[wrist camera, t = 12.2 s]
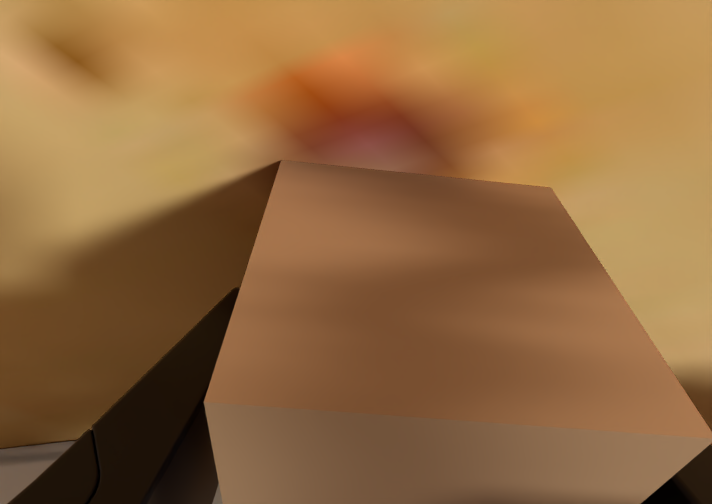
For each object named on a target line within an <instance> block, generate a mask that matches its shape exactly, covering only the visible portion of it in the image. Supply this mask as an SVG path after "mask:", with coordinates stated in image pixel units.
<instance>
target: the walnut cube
mask: <svg viewBox="0 0 712 504" xmlns="http://www.w3.org/2000/svg"><path fill="white" fill-rule="evenodd" d="M204 406H205V411H206V417H207V422H208V428H209V433H210V438H211V444H212V449H213V454H214V460H215V465H216V470H217V476H218V481H219V487H220V492H221V497H222V503H223V504H641V503H642V502H643V501H644V500H645V499H647V498H648V497H649V496H650V495H651V494H653V493H654V492H655V491H656V490H657V489H658V488H660V487H661V486H662V485H663V484H664V483H665V482H667V481H668V480H669V479H670V478H671V477H672V476H674V475H675V474H676V473H677V472H678V471H679V470H681V469H682V468H683V467H684V466H685V465H686V464H688V463H689V462H690V461H691V460H692V459H693V458H695V457H696V456H697V455H698V454H699V453H701V452H702V451H703V450H704V449H705V448H706V447H708V446H709V445H710V444H711V443H712V431H711V430H710V428H709V427H708V425H707V424H706V422H705V421H704V419H703V418H702V416H701V415H700V413H699V412H698V410H697V409H696V407H695V406H694V404H693V402H692V401H691V399H690V398H689V396H688V395H687V393H686V392H685V390H684V389H683V387H682V386H681V384H680V383H679V381H678V380H677V378H676V377H675V375H674V374H673V372H672V371H671V369H670V368H669V366H668V365H667V363H666V361H665V360H664V358H663V357H662V355H661V354H660V352H659V351H658V349H657V348H656V346H655V345H654V343H653V342H652V340H651V339H650V337H649V336H648V334H647V333H646V331H645V330H644V328H643V327H642V325H641V324H640V322H639V320H638V319H637V317H636V316H635V314H634V313H633V311H632V310H631V308H630V307H629V305H628V304H627V302H626V301H625V299H624V298H623V296H622V295H621V293H620V292H619V290H618V289H617V287H616V286H615V284H614V283H613V281H612V280H611V278H610V276H609V275H608V273H607V272H606V270H605V269H604V267H603V266H602V264H601V263H600V261H599V260H598V258H597V257H596V255H595V254H594V252H593V251H592V249H591V248H590V246H589V245H588V243H587V242H586V240H585V239H584V237H583V235H582V234H581V232H580V231H579V229H578V228H577V226H576V225H575V223H574V222H573V220H572V219H571V217H570V216H569V214H568V213H567V211H566V210H565V208H564V207H563V205H562V204H561V202H560V201H559V199H558V198H557V196H556V194H555V193H554V191H553V190H552V188H550V187H540V186H530V185H521V184H511V183H501V182H491V181H481V180H472V179H462V178H452V177H442V176H432V175H423V174H413V173H403V172H393V171H383V170H374V169H364V168H354V167H344V166H334V165H325V164H315V163H305V162H295V161H285V160H281V163H280V166H279V169H278V172H277V175H276V178H275V181H274V184H273V187H272V191H271V194H270V197H269V200H268V203H267V206H266V209H265V212H264V216H263V219H262V222H261V225H260V228H259V231H258V234H257V237H256V241H255V244H254V247H253V250H252V253H251V256H250V259H249V262H248V266H247V269H246V272H245V275H244V278H243V281H242V284H241V287H240V290H239V294H238V297H237V300H236V303H235V306H234V309H233V312H232V315H231V319H230V322H229V325H228V328H227V331H226V334H225V337H224V340H223V344H222V347H221V350H220V353H219V356H218V359H217V362H216V365H215V369H214V372H213V375H212V378H211V381H210V384H209V387H208V390H207V393H206V397H205V400H204Z"/></svg>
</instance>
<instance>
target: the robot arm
mask: <svg viewBox="0 0 712 504" xmlns="http://www.w3.org/2000/svg"><path fill="white" fill-rule="evenodd" d="M239 290H240V288H239V287H237V288H234V289H233V290H231V291H230V292H229V293H228V294H227V295H226V296H225V297H224V298H223V299H222V300H221V301H220V302H219V303H218V304H217V305H216V306H215V307H214V308H213V309H212V310H211V311H210V312H209V313H208V314H207V315H206V316H205V317H204V318H203V319H202V320H201V321H200V322H199V323H197V324H196V325H195V326H194V327H193V328H192V329H191V330H190V331H189V332H188V333H187V334H186V335H185V336H184V337H183V338H182V339H181V340H180V341H179V342H178V343H177V344H176V345H175V346H174V347H173V348H172V349H171V350H170V351H169V352H168V353H167V354H166V355H165V356H163V357H162V358H161V359H160V360H159V361H158V362H157V363H156V364H155V365H154V366H153V367H152V368H151V369H150V370H149V371H148V372H147V373H146V374H145V375H144V376H143V377H142V378H141V379H140V380H139V381H138V382H137V383H136V384H135V385H134V386H133V387H132V388H131V389H130V390H128V391H127V392H126V393H125V394H124V395H123V396H122V397H121V398H120V399H119V400H118V401H117V402H116V403H115V404H114V405H113V406H112V407H111V408H110V409H109V410H108V411H107V412H106V413H105V414H104V415H103V416H102V417H101V418H100V419H99V420H98V421H97V422H96V423H95V424H93V426H92V430H87V431H86V432H85V433H84V434H83V435H82V436H81V437H80V438H79V439H78V440H77V441H76V442H75V443H74V444H73V445H72V446H71V447H70V448H68V449H67V450H66V451H65V452H64V453H63V454H62V455H61V456H60V457H59V458H58V459H57V460H56V461H55V462H53V463H52V464H51V465H50V466H49V467H48V468H47V469H46V470H45V471H44V472H43V473H42V474H41V475H39V476H38V477H37V478H36V479H35V480H34V481H33V482H32V483H31V484H29V485H28V486H27V487H26V488H25V489H24V490H22V491H21V492H20V493H19V494H18V495H17V496H15V497H14V498H13V499H12V500H11V501H10V502H8V503H7V504H212V503H213V500H214V497H215V494H216V490H217V487H218V484H219V481H218V476H217V470H216V465H215V460H214V454H213V449H212V444H211V438H210V433H209V428H208V422H207V417H206V411H205V406H204V400H205V397H206V393H207V390H208V387H209V384H210V381H211V378H212V375H213V372H214V369H215V365H216V362H217V359H218V356H219V353H220V350H221V347H222V344H223V340H224V337H225V334H226V331H227V328H228V325H229V322H230V319H231V315H232V312H233V309H234V306H235V303H236V300H237V297H238V294H239ZM641 504H712V445H711V444H710V445H709V446H708V447H706V448H705V449H704V450H703V451H702V452H701V453H699V454H698V455H697V456H696V457H695V458H693V459H692V460H691V461H690V462H689V463H688V464H686V465H685V466H684V467H683V468H682V469H681V470H679V471H678V472H677V473H676V474H675V475H674V476H672V477H671V478H670V479H669V480H668V481H667V482H665V483H664V484H663V485H662V486H661V487H660V488H658V489H657V490H656V491H655V492H654V493H653V494H651V495H650V496H649V497H648V498H647V499H645V500H644V501H643V502H642V503H641Z"/></svg>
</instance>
